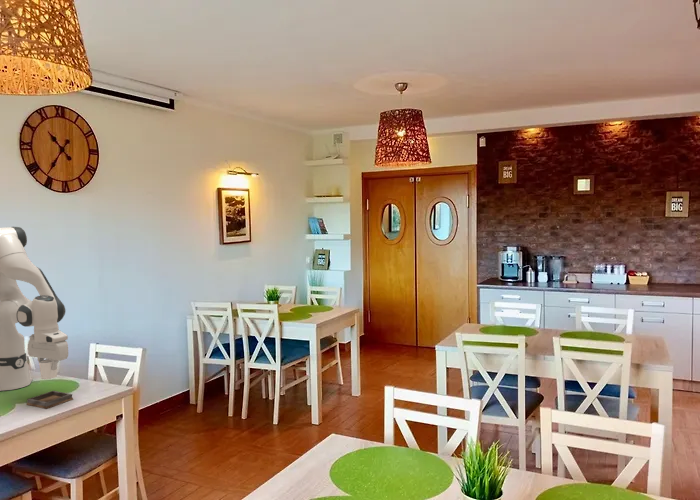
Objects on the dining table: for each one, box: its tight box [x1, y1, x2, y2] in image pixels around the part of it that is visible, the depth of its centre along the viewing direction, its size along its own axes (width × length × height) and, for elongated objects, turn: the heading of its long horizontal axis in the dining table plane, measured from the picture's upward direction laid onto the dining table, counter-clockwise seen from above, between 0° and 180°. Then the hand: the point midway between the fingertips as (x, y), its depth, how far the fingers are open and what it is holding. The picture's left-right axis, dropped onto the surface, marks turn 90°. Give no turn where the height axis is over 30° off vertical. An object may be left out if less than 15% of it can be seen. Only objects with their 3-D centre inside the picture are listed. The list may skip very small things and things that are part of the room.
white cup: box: [38, 359, 58, 380], centre depth 224 cm, size 7×7×7 cm
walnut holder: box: [26, 390, 74, 410], centre depth 225 cm, size 12×12×2 cm
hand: (48, 368), depth 224 cm, fingers closed on white cup, 5 cm apart
